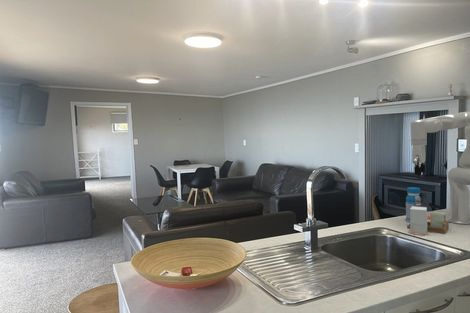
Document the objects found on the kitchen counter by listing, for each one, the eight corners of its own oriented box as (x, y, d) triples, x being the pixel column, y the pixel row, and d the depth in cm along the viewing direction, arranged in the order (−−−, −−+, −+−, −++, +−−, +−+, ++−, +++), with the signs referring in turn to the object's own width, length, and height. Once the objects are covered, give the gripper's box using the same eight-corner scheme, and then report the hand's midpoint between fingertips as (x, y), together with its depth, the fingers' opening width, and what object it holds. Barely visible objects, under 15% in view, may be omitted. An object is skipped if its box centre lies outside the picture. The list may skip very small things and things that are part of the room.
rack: (412, 224, 189) (412, 208, 188) (448, 229, 177) (448, 212, 176) (407, 228, 181) (407, 212, 180) (444, 233, 169) (444, 216, 168)
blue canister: (405, 222, 194) (405, 188, 193) (406, 218, 201) (406, 186, 200) (421, 223, 189) (421, 189, 188) (422, 220, 196) (422, 187, 195)
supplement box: (427, 230, 173) (427, 207, 172) (426, 234, 167) (426, 209, 166) (411, 228, 177) (411, 205, 177) (409, 232, 171) (409, 208, 171)
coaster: (411, 229, 178) (411, 228, 178) (430, 232, 172) (430, 231, 172) (406, 233, 172) (406, 232, 172) (426, 236, 166) (426, 235, 166)
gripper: (414, 141, 189) (415, 171, 190) (407, 143, 176) (408, 175, 177) (429, 141, 184) (430, 171, 185) (423, 143, 171) (424, 175, 172)
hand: (419, 173), depth 181 cm, fingers open, 9 cm apart
